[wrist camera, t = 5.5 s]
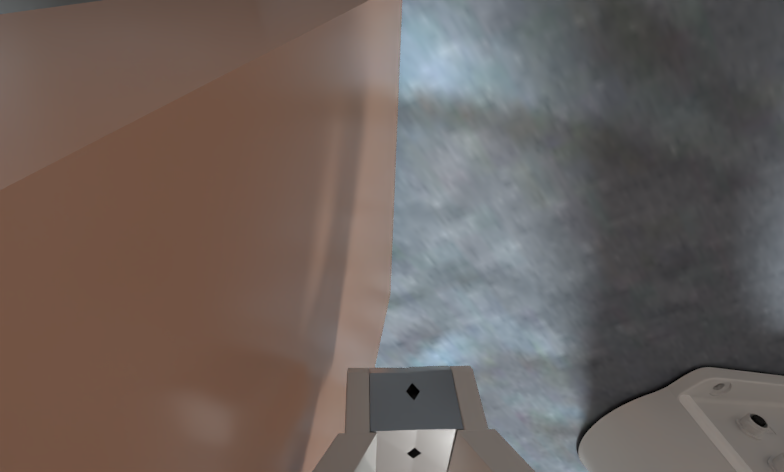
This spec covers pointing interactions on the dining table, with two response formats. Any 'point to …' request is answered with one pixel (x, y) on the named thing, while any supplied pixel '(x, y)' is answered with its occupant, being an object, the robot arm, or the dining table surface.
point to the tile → (192, 229)
